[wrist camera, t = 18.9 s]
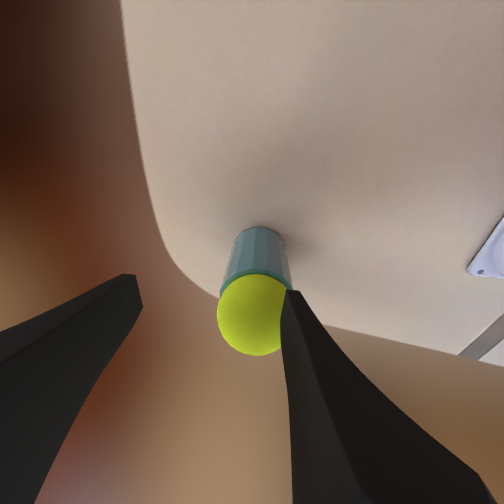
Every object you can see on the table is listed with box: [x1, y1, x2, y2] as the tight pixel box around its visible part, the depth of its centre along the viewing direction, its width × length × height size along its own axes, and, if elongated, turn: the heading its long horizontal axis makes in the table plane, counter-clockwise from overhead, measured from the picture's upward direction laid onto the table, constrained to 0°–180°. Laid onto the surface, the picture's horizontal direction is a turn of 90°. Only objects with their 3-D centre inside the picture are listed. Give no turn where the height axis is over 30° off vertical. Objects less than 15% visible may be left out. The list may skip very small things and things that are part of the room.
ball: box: [217, 274, 286, 356], centre depth 13 cm, size 5×5×5 cm
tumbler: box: [220, 227, 294, 298], centre depth 18 cm, size 5×5×7 cm
